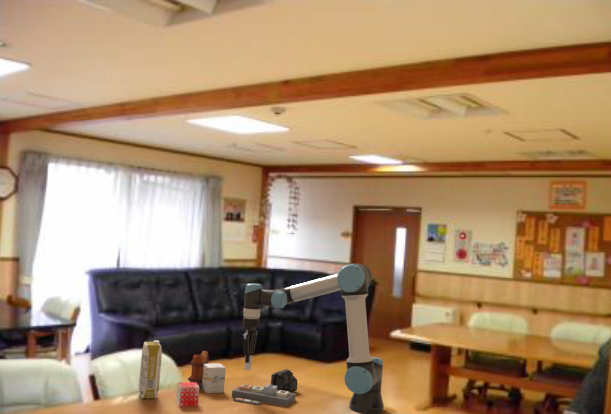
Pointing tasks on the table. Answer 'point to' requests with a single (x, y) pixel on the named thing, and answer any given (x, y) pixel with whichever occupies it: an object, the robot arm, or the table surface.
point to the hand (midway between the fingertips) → (247, 369)
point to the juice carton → (150, 369)
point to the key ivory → (282, 393)
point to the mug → (198, 367)
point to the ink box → (213, 378)
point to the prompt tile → (247, 401)
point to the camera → (284, 380)
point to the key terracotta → (245, 387)
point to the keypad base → (263, 397)
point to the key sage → (257, 389)
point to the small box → (187, 394)
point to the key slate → (270, 389)
